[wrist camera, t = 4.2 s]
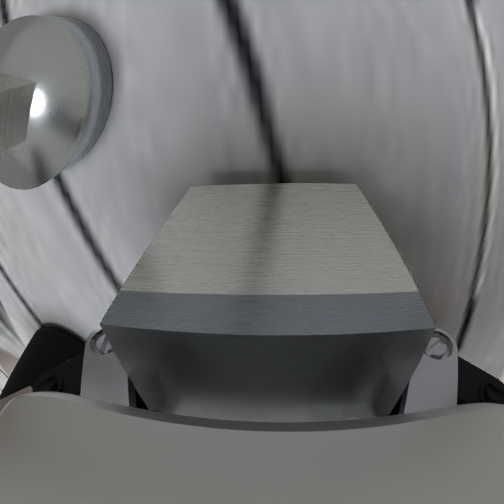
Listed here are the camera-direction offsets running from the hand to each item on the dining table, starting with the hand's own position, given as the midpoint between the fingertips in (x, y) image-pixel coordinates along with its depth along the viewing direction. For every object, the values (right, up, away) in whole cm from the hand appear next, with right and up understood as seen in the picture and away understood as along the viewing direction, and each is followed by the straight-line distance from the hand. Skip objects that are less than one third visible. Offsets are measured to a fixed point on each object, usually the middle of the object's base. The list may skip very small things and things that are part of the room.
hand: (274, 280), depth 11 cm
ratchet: (-19, +12, -2) cm, 23 cm away
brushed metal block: (0, +1, +1) cm, 2 cm away
